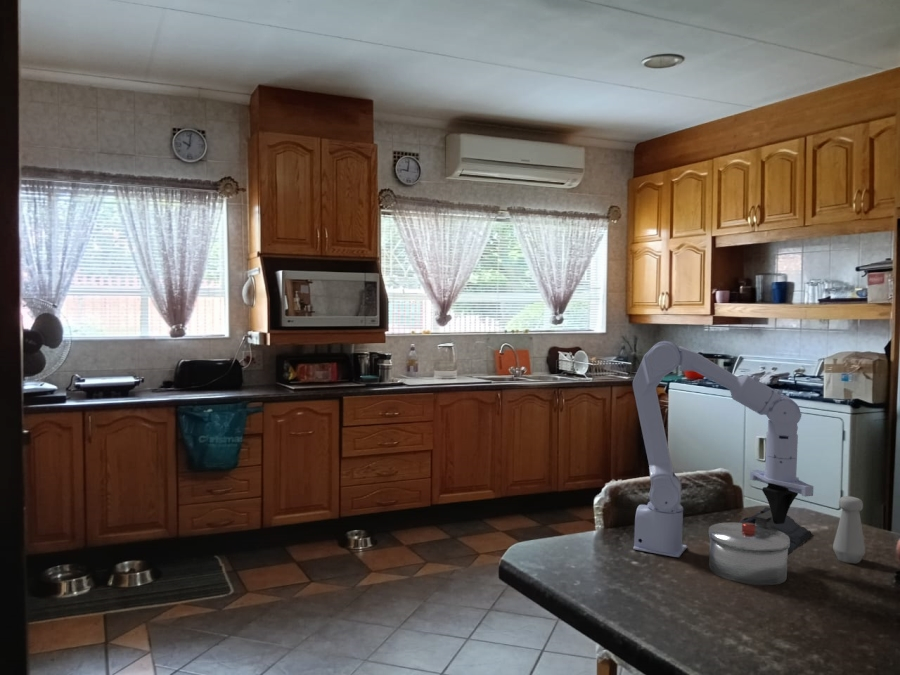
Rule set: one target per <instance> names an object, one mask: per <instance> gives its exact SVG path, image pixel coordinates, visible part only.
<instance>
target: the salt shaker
mask: <svg viewBox="0 0 900 675" xmlns="http://www.w3.org/2000/svg"><path fill="white" fill-rule="evenodd" d="M838 506H839V508H840V509H841V514H840V518H839V522H838V525H837V530H836V532H835V536H834V539H833V540H834V541H833V544H832V549H833V551H834V553H835V555H836V557H837V560H838V561H841V562H843V563H845V564H846V563H847V564H859V563H860V562H861V561H862V559H863V557H864V555H865V553H866V547H865V546H866V545H865V540H864V533H863V526H862V520H861V515H860V514H861V513H860V511H862V510H863V508H864V502H863V501H862V499H861V498H858V497H854V496H851V495H850V496H848V495H847V496H846V495H845V496H841V497H840V498H839V500H838Z"/></svg>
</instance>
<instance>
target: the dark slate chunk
mask: <svg viewBox="0 0 900 675" xmlns="http://www.w3.org/2000/svg"><path fill="white" fill-rule="evenodd" d="M769 510H770V511H771V509H770V507H767V506H766V507H764V508H763V509H762V510H760V511H759V512H757V513H755V514H754V515H752V516H749V517H745V518H743V519H741V520H740V521H739V523H752V524H755V518H756V516H758V515H760V514H762V513H765V512H767V511H769ZM769 528H772V529H775V530H778V531H781V532H783V533H784V534H786V535H787V536H788V537H789V538H790V547H789V548H788V555H789V554H791V553H793V552H794V551H795V550H797V549H798V548H799V547H800V546H802V545H803V544H804V543H805V542H806V541H807V540H808V539H809V538H811V537H812V536H813V533H812V531H811V530H808V529H807V528H806V527H803V526H801V525H799V523H797V522H796V520H795V519H793V518H792V517H791V516H789V515H788V514H787V515H786V519H785V522H784V523H783V524H775V525H773V526H771V527H769Z"/></svg>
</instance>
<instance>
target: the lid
mask: <svg viewBox="0 0 900 675" xmlns="http://www.w3.org/2000/svg"><path fill="white" fill-rule="evenodd" d="M773 525H775V523H774V522H773V517H772V513H771V511H770V510H769V511H767V512H765V513H762V514H760V515H758V516H756V518H755V524H752V523H740V522H721V523H720V522H718V523H714V524H712V525H710V526H709V527H708V537H709V540H710V539H712V540H713V541H715V542H717V543H719V544H721V545H724V546H727V547H731V548H735V549H740V550H745V551H753V552H779V551H784V550H786V549H788V548H789V547H790V538H789V537H788V536H787V535H786V534H784V533H783V532H781V531H778V530H775V529H772V528H769V527H771V526H773Z"/></svg>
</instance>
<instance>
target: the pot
mask: <svg viewBox="0 0 900 675" xmlns="http://www.w3.org/2000/svg"><path fill="white" fill-rule="evenodd" d="M788 555H789V554H788V549H786V550H784V551H779V552H753V551H745V550H740V549H735V548H731V547H727V546H724V545H721V544H719V543H717V542H715V541H713V540H712V539H710V538H709V555H708V556H709V558H708V569H709V570H710V571H711V572H712V573H714V574H715V575H717V576H719V577H721V578H723V579H726V580H729V581H731V582H732V581H733V582H734V583H735V582H736V583H740V584H745V585H753V586H774V585H780V584H783V583H785V582H786V580H787V575H788V574H787V573H788Z"/></svg>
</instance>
